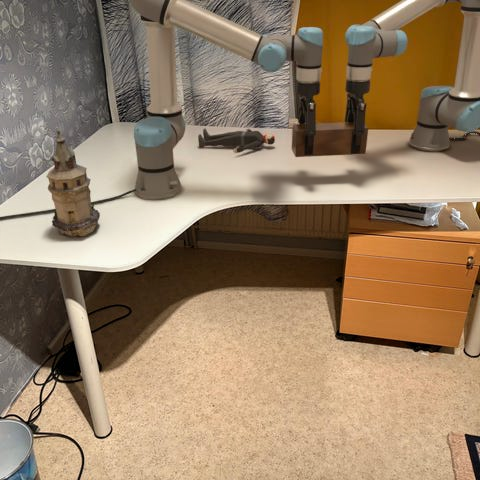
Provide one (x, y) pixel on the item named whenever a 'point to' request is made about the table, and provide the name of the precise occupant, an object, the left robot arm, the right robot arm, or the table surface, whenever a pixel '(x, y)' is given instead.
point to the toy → (236, 139)
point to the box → (328, 139)
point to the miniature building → (70, 193)
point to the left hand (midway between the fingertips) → (305, 148)
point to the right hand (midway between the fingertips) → (352, 148)
